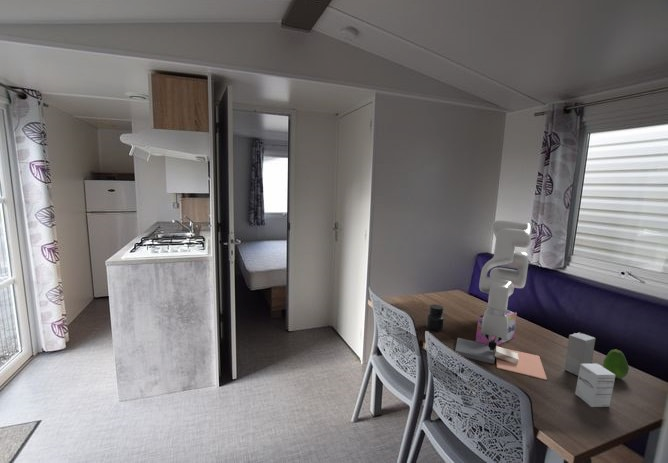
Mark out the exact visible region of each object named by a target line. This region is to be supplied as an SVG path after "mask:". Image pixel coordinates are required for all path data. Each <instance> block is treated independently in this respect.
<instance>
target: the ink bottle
mask: <svg viewBox="0 0 668 463" xmlns="http://www.w3.org/2000/svg"><path fill="white" fill-rule="evenodd" d="M425 323H426V324H425V327H426V329H428V330H429V331H433V332H442V331H443V330H444V326H445V316H444V306H442V305H440V304H434V303H433V304H430V306H429V312H428V314H427V315H426V322H425Z"/></svg>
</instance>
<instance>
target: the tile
mask: <svg viewBox="0 0 668 463" xmlns="http://www.w3.org/2000/svg"><path fill="white" fill-rule="evenodd" d="M504 348H505V347H500V346H499V345H497V346H496V349H494V358H496V357H497V358H500V359H503V360H506V361H508V362H511V363H514V364H516V365H517V364H518V361H519V358H518V353H515V352H513V351H510V350H511V349H510V350H507V349H508V348H505V349H504Z"/></svg>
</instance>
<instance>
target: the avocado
mask: <svg viewBox="0 0 668 463" xmlns="http://www.w3.org/2000/svg"><path fill="white" fill-rule="evenodd" d="M602 367H604V368H605V369H607V370H609V371H610V372H612V373H613V374H615V375H616V376H615V379H623V378H625V377H626V376H627V375H628V373H629V364H628V361H627V359H626V356H625V354H624V353H623V352H622V350H618V349H617V348H616V349H610V351H609V352H608V353H607V354H606V356H605V357H604V359H603V364H602Z"/></svg>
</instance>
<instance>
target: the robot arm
mask: <svg viewBox="0 0 668 463" xmlns="http://www.w3.org/2000/svg"><path fill="white" fill-rule="evenodd" d="M492 231H493V235H494V237H495V244H494V249H493V250H494V252H493V256H492V258H491V259H489V260H488V261H486V263H485V264H484V265H483V266H482V268H481V272H480V277H479V283H478V288H479V290H480V292H482V293H484V294H488V302H487V309H486V310H484V314H483V315H484V317H483V322H482V330H481V335H483V336H485V337H486V338H487V339H488V340H489V346H488V347H489V348H490V350H492V351H494V350H495V349H496V343H497V342H499V341H500V340H507V329H508V316H507V314H508V313H509V314H510V311H511V310H509V309H508V304H509V303H508V302H509V297H511V295H513V293H514V291H515V288H516V289H524V287H525V286H526V283H527V275H528V268H529V259H530V258H529V255H528V253H527V252H525V251H521V250H516V249H515V248H528V247H529V246H530V244H531V241H532V225H531V224H530V223H529V222H523V221H513V220H500V219H499V220H495V221H494V222H493V223H492ZM488 272H490V273H489V276H488ZM491 336H495V339H494V340H492V337H491Z"/></svg>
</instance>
